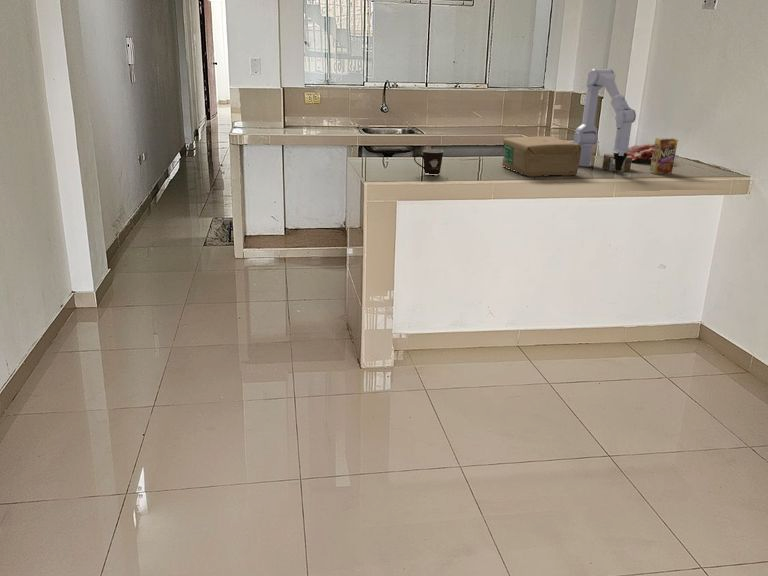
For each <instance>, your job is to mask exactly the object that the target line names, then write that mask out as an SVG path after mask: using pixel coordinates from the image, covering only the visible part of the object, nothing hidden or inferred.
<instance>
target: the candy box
mask: <svg viewBox="0 0 768 576" xmlns="http://www.w3.org/2000/svg"><path fill="white" fill-rule="evenodd" d="M678 142H679V140H678V139H677V138H672V137H670V138H655V141H654V143H655V145H654V150H653V155H652V158H651V160H650V167H649V173H651V174H652V175H660V174H661V175H666V174H667V175H669V174H670V175H671V174H673V169H674V164H675V163H674V162H675V157H676V153H677V147H678Z"/></svg>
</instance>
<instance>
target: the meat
mask: <svg viewBox="0 0 768 576" xmlns="http://www.w3.org/2000/svg"><path fill="white" fill-rule="evenodd" d="M654 145H655V142H654V143H647V144H641V145H639V144H638V145H637V144H636V145H635V144H634V145H632V146H628V149H631V151H627V152H625V153H627V156H632V161H636V160H638V159H639V160H650V159H652V155H653V150H654Z"/></svg>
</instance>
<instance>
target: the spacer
mask: <svg viewBox="0 0 768 576" xmlns="http://www.w3.org/2000/svg"><path fill="white" fill-rule="evenodd" d="M614 161H615V160H614V159H613V158H611V160H610V167H609V170H608V171H609V172H614V171H613V169H612V165H613V163H614ZM623 165H624V166H625V160H624V162H623ZM623 172H625V171H624V168H623V170H622V172H621V173H623Z"/></svg>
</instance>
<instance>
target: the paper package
mask: <svg viewBox="0 0 768 576" xmlns="http://www.w3.org/2000/svg"><path fill="white" fill-rule="evenodd" d="M580 156H581V146H580V145H579V144H576V143H574V142H572V141H568V140H564V139H560V138H557V137H553V136H549V135H548V136H547V135H545V136H544V135H542V136H540V135H539V136H518V137H513V136H512V137H504V138H503V156H502V157H503V158H502V165H503V166H505V167H507V168H510V169H512V170H515V171H517V172H519V173H522V174H524V175H523V176H525V175H527V176H526V177H542V176H541V175H544V176H543V177H549V176H548V175H562V176H575V175H577V174H578V170H579V167H580V166H579V161H580ZM502 165H501V166H502ZM512 170H511V171H512ZM517 172H516V173H517ZM519 173H518V174H519ZM522 174H521V175H522Z"/></svg>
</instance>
